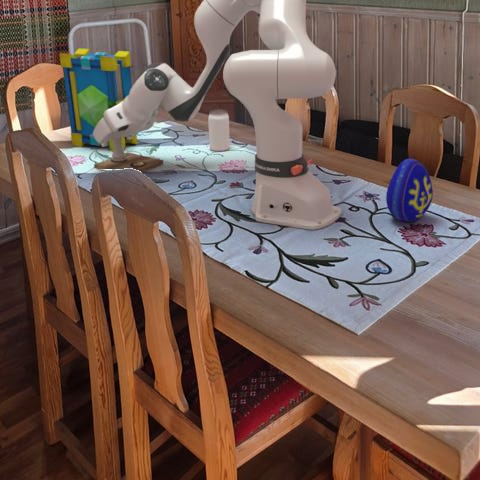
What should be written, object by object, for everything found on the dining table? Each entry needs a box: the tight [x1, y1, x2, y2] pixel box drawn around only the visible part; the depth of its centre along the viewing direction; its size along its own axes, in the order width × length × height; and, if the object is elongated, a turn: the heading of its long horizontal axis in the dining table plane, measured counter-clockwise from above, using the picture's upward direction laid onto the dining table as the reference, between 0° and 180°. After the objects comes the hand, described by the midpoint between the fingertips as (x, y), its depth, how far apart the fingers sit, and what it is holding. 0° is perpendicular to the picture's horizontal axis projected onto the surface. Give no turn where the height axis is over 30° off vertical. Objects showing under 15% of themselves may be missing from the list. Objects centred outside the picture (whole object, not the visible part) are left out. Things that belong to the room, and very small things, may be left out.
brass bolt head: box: [133, 162, 143, 166], centre depth 203 cm, size 3×3×1 cm
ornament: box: [385, 158, 434, 223], centre depth 161 cm, size 11×9×15 cm
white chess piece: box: [111, 137, 126, 162], centre depth 206 cm, size 4×4×8 cm
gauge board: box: [93, 152, 164, 173], centre depth 206 cm, size 15×14×1 cm
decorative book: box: [58, 47, 138, 152], centre depth 221 cm, size 14×23×30 cm, turn 62°
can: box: [207, 109, 231, 153], centre depth 217 cm, size 6×6×12 cm
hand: (115, 141), depth 206 cm, fingers open, 8 cm apart
